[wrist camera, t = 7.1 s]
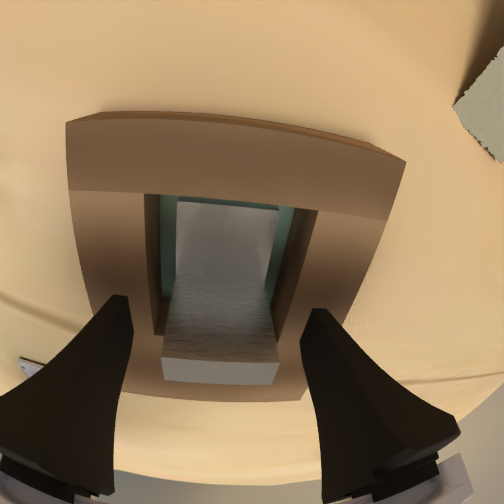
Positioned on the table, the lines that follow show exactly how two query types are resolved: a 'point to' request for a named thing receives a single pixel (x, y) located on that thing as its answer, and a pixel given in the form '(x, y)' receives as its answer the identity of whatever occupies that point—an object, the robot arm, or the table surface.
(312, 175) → the well block
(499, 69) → the grey slanted stand
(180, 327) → the grey block
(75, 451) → the robot arm
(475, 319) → the table surface
